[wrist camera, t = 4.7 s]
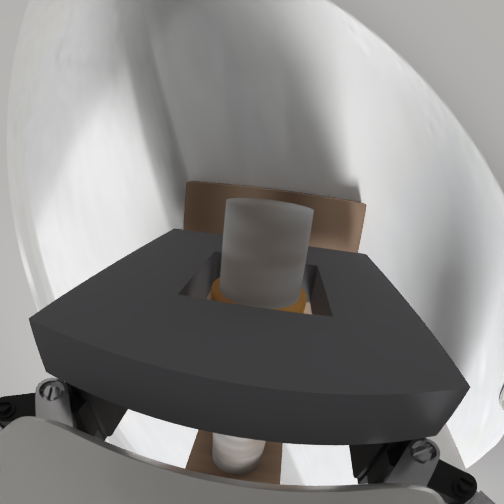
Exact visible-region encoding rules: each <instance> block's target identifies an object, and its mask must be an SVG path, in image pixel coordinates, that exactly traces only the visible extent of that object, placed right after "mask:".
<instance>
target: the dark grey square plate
mask: <svg viewBox="0 0 504 504" xmlns="http://www.w3.org/2000/svg"><path fill="white" fill-rule="evenodd" d="M222 245H223V235H221V234H213V233H205V232H197V231H189V230H181V229H173V230H171V231H169V232H168V233H166V234H164V235H162V236H160V237H159V238H157V239H155V240H153V241H151V242H150V243H148V244H146V245H144V246H143V247H141V248H139V249H138V250H136V251H134V252H132V253H131V254H129V255H127V256H126V257H124V258H122V259H120V260H119V261H117V262H115V263H114V264H112V265H110V266H109V267H107V268H106V269H104V270H102V271H101V272H99V273H97V274H96V275H94V276H93V277H91V278H89V279H88V280H86V281H85V282H83V283H81V284H80V285H78V286H77V287H75V288H74V289H72V290H70V291H69V292H67V293H66V294H64V295H63V296H61V297H60V298H58V299H57V300H55V301H54V302H52V303H51V304H49V305H48V306H46V307H45V308H43V309H42V310H40V311H39V312H37V313H36V314H35V315H34V316H32V317H30V318H29V321H30V325H31V328H32V332H33V335H34V338H35V341H36V344H37V347H38V350H39V353H40V356H41V359H42V362H43V364H44V367H45V370H46V372H48V373H49V374H51V375H53V376H55V377H57V378H59V379H61V380H63V381H65V382H67V383H69V384H71V385H73V386H75V387H77V388H79V389H81V390H83V391H86V392H88V393H90V394H92V395H95V396H97V397H99V398H102V399H104V400H107V401H109V402H112V403H114V404H117V405H119V406H122V407H125V408H127V409H130V410H133V411H136V412H139V413H142V414H145V415H148V416H151V417H154V418H157V419H161V420H164V421H168V422H171V423H175V424H179V425H182V426H186V427H190V428H194V429H199V430H203V431H208V432H213V433H218V434H223V435H228V436H234V437H240V438H246V439H254V440H261V441H270V442H280V443H292V444H309V445H360V444H377V443H389V442H398V441H406V440H414V439H420V438H426V437H432V436H437V434H438V433H439V432H440V430H441V429H442V428H443V426H444V425H445V424H446V422H447V421H448V420H449V418H450V417H451V416H452V414H453V413H454V411H455V410H456V408H457V407H458V405H459V404H460V403H461V401H462V399H463V398H464V396H465V395H466V393H467V392H468V390H469V388H470V386H469V384H468V383H467V381H466V380H465V378H464V377H463V375H462V374H461V372H460V371H459V370H458V368H457V367H456V365H455V364H454V362H453V361H452V360H451V358H450V357H449V355H448V354H447V353H446V351H445V350H444V349H443V347H442V346H441V344H440V343H439V342H438V340H437V339H436V338H435V336H434V335H433V334H432V332H431V331H430V330H429V329H428V327H427V326H426V325H425V323H424V322H423V321H422V320H421V318H420V317H419V316H418V315H417V313H416V312H415V311H414V310H413V308H412V307H411V306H410V305H409V303H408V302H407V301H406V300H405V299H404V297H403V296H402V295H401V294H400V293H399V291H398V290H397V289H396V288H395V287H394V285H393V284H392V283H391V282H390V281H389V280H388V279H387V277H386V276H385V275H384V274H383V273H382V272H381V271H380V269H379V268H378V267H377V266H376V265H375V264H374V263H373V262H372V260H371V259H370V258H369V257H368V256H367V255H366V254H361V253H354V252H347V251H340V250H333V249H326V248H319V247H311V246H308V251H307V257H306V263H305V269H304V275H303V280H302V286H301V288H302V289H303V290H304V291H305V292H306V295H307V300H306V302H307V303H310V305H311V312H312V314H304V313H296V312H288V311H280V310H273V309H265V308H258V307H252V306H245V305H238V304H232V303H225V302H219V301H213V300H207V299H206V298H207V296H208V295H209V293H210V291H211V290H212V284H213V282H214V281H215V280H216V279H218V278H219V277H220V272H221V258H222Z"/></svg>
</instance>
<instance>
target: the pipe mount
mask: <svg viewBox="0 0 504 504" xmlns="http://www.w3.org/2000/svg"><path fill="white" fill-rule="evenodd" d="M365 211H366V204H364V203H361V202H356V201H350V200H344V199H338V198H332V197H326V196H319V195H313V194H306V193H299V192H292V191H284V190H276V189H268V188H260V187H251V186H242V185H232V184H221V183H210V182H198V181H189V182H187V184H186V198H185V214H184V230H189V231H197V232H205V233H213V234H221V235H223V245H222V258H221V272H220V277H219V278H218V279H216V280H215V281H214V282H213V284H212V290H211V291H210V293H209V295H208V296H207V298H206V299H207V300H213V301H219V302H225V303H232V304H238V305H245V306H252V307H258V308H265V309H273V310H280V311H288V312H296V313H304V314H312V312H311V305H310V303H307V302H306V300H307V295H306V292H305V291H304V290H303V289H302V288H301V286H302V280H303V275H304V269H305V263H306V257H307V251H308V246H311V247H319V248H326V249H333V250H340V251H347V252H354V253H358V249H359V244H360V239H361V233H362V228H363V222H364V217H365ZM281 459H282V443H280V442H270V441H261V440H254V439H246V438H240V437H234V436H228V435H223V434H218V433H213V432H208V431H203V430H198V433H197V436H196V439H195V442H194V445H193V448H192V451H191V453H190V456H189V459H188V462H187V465H186V468H185V469H187V470H191V471H196V472H200V473H204V474H209V475H214V476H219V477H224V478H230V479H236V480H243V481H250V482H259V483H268V484H280V474H281Z"/></svg>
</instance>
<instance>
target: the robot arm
mask: <svg viewBox="0 0 504 504" xmlns="http://www.w3.org/2000/svg"><path fill="white" fill-rule="evenodd" d="M499 404H500V406H501V408H502V409H503V410H504V387H503V390H502V392H501V395H500V399H499ZM127 410H128V409H127V408H125V407H122V406H119V405H117V404H114V403H112V402H109V401H107V400H104V399H102V398H99V397H97V396H95V395H92V394H90V393H88V392H86V391H83V390H81V389H79V388H77V387H75V386H73V385H71V384H69V383H67V382H64V381H62V380H61V379H58V378H49V379H45V380H43V381H42V382H40V383H39V384H38V386H37V387H36V393H30V394H22V395H13V396H4V397H1V398H0V504H495V503H494V502H493V501H492V500H491V499H490V498H488V497H487V496H486V495H485V494H484V493H483V492H482V491H480V492H479V493H478V492H477V491H476V490H477V483H476V480H475V478H474V477H473V476H472V475H470V474H469V473H467V472H465V471H462V470H460V469H458V468H456V467H454V466H452V465H450V464H448V463H446V462H444V461H442V460H441V459H439V458H440V449H439V447H438V445H437V444H436V443H435V442H433V441H432V440H430V439H427V438H420V439H414V440H406V441H398V442H389V443H377V444H360V445H349V447H350V454H351V461H352V469H353V476H354V478H357V479H358V484H360V485H341V486H298V485H280V484H268V483H259V482H250V481H243V480H236V479H230V478H224V477H219V476H214V475H209V474H204V473H200V472H196V471H191V470H187V469H183V468H180V467H176V466H172V465H169V464H166V463H162V462H159V461H156V460H153V459H150V458H147V457H144V456H141V455H138V454H135V453H133V452H130V451H127V450H125V449H122V448H120V447H117V446H115V445H112V444H110V443H107V442H105V439H106V437H107V436H111V435H112V434H113V432H114V431H115V429H116V427H117V426H118V424H119V422H120V421H121V419H122V418H123V416H124V414H125V413H126V411H127ZM102 440H103V441H102ZM367 483H368V484H367Z"/></svg>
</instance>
